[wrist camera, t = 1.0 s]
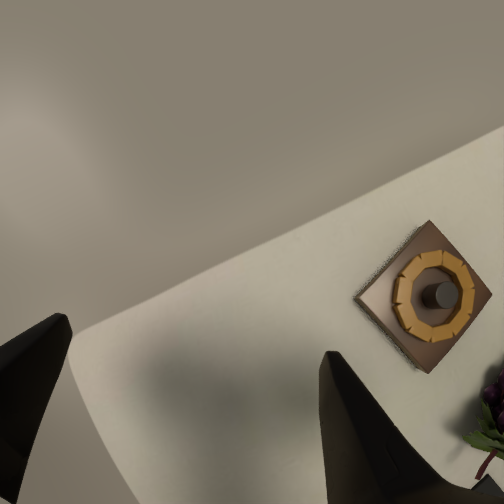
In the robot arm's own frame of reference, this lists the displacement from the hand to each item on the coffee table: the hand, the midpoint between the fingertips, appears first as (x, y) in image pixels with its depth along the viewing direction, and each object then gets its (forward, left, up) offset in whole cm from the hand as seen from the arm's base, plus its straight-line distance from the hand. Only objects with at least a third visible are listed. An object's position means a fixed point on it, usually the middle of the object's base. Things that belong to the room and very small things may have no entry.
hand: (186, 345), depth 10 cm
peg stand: (-8, -11, -17) cm, 23 cm away
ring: (-8, -11, -15) cm, 21 cm away
